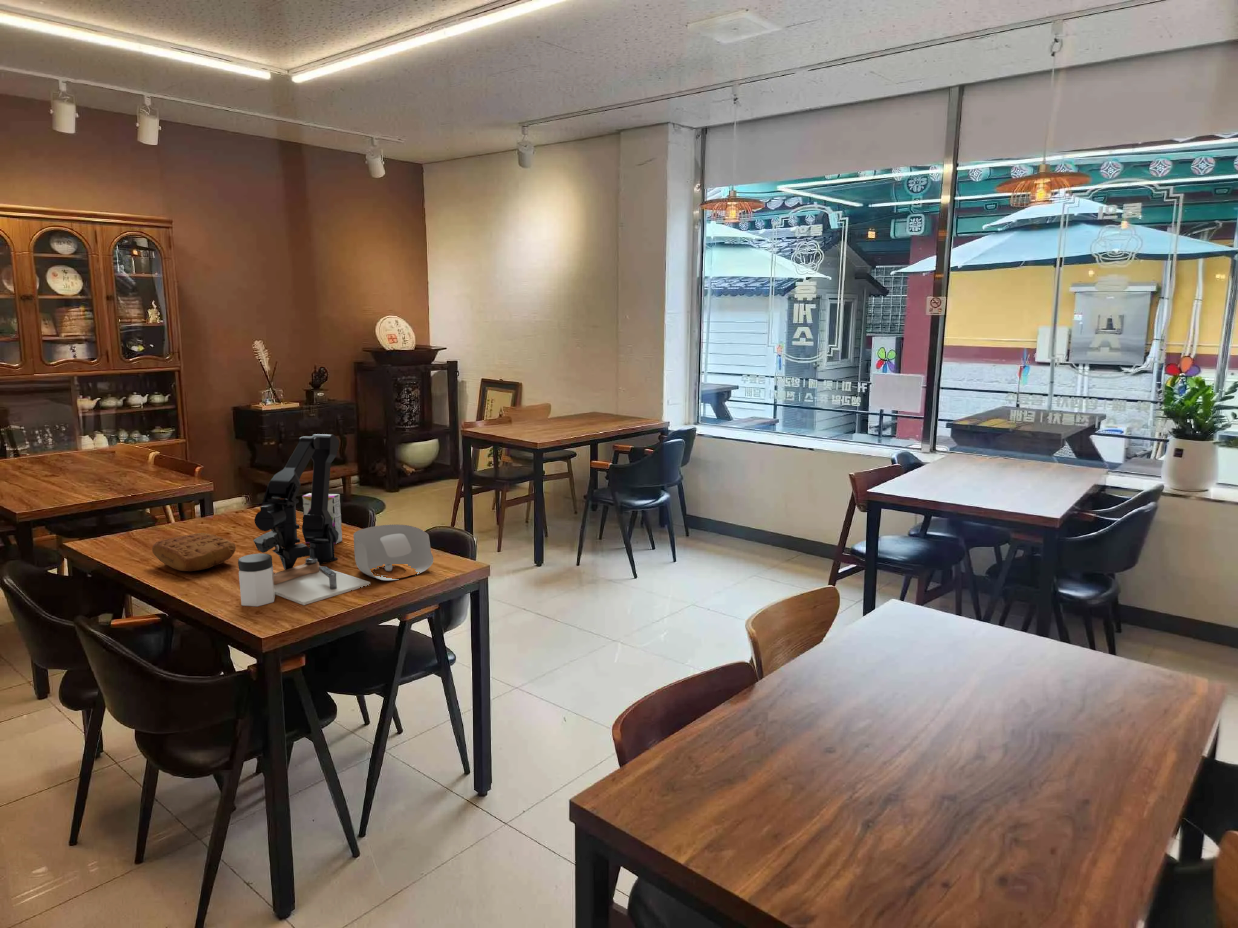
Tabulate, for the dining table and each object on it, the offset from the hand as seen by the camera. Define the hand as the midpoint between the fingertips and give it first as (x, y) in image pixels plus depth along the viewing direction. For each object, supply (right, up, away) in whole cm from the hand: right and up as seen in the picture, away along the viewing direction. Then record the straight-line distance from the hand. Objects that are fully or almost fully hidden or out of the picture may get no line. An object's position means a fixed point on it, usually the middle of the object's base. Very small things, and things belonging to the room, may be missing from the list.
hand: (288, 573), depth 227 cm
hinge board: (+8, -2, -5) cm, 10 cm away
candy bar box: (-4, +5, +38) cm, 39 cm away
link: (+2, -1, -1) cm, 3 cm away
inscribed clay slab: (-33, +1, +13) cm, 36 cm away
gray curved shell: (+27, -1, +8) cm, 28 cm away
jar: (0, -5, -18) cm, 18 cm away
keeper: (+11, -1, -2) cm, 11 cm away
